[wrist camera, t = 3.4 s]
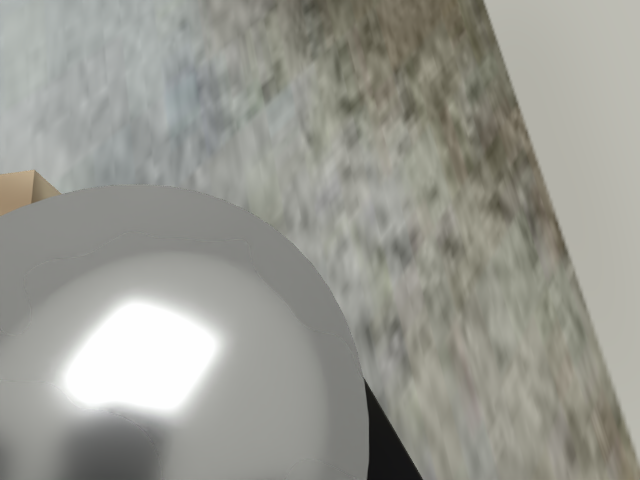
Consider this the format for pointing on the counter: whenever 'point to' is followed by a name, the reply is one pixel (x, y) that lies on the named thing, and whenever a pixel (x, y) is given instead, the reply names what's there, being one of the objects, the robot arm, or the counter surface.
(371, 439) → the robot arm
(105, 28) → the counter surface
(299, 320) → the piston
